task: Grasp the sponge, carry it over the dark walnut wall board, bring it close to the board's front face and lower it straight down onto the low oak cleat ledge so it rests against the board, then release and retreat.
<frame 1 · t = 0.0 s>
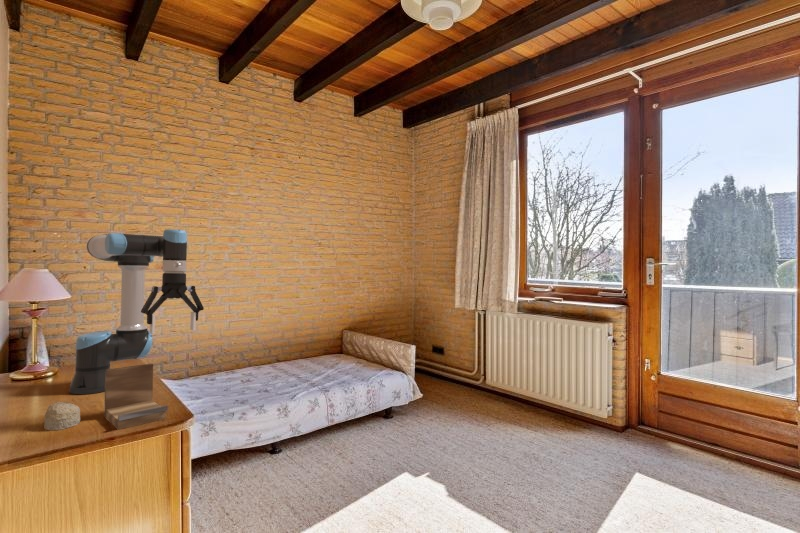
hand: (173, 331, 150), 28 cm above the table, fingers open, 13 cm apart
sponge: (62, 425, 134), on the table
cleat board: (129, 412, 146), on the table
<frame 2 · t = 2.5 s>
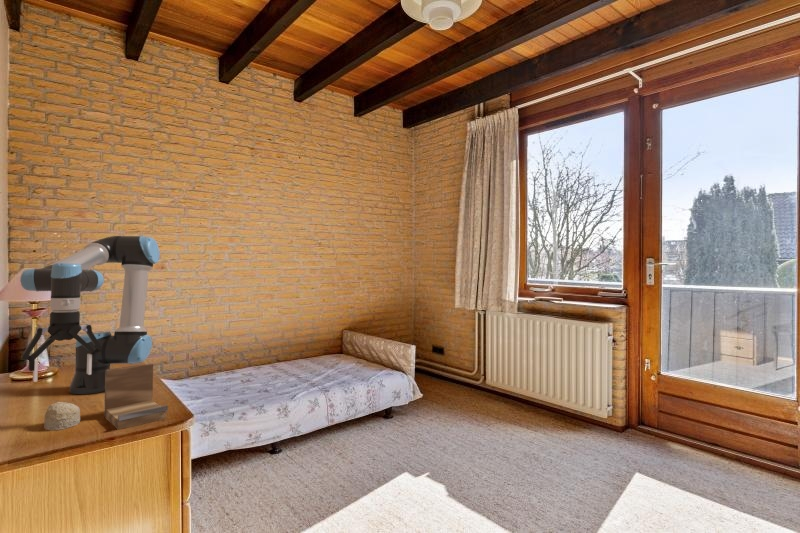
hand: (63, 377, 134), 15 cm above the table, fingers open, 13 cm apart
nothing on the table moved.
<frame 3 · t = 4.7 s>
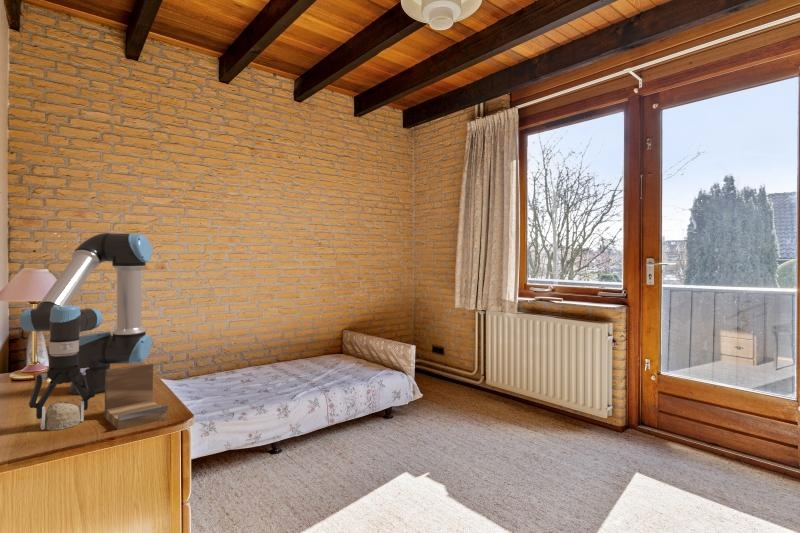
hand: (62, 424, 134), 0 cm above the table, fingers closed on sponge, 9 cm apart
sponge: (62, 425, 134), on the table, touching gripper
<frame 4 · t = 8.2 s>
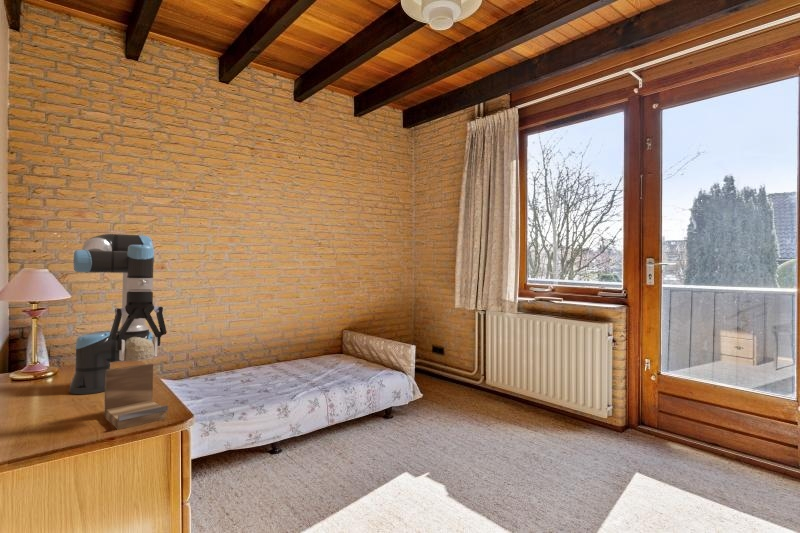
hand: (138, 357, 140), 21 cm above the table, fingers closed on sponge, 9 cm apart
sponge: (138, 359, 140), point 20 cm above the table, touching gripper
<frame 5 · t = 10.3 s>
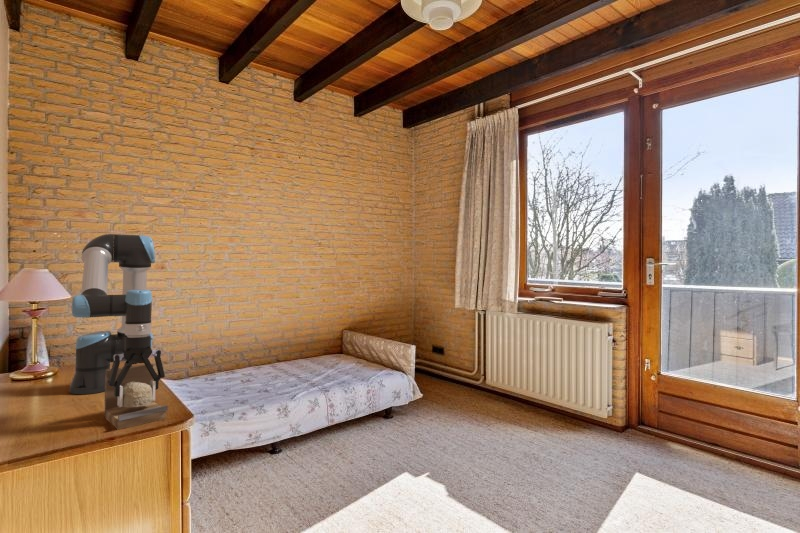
hand: (136, 402, 141), 5 cm above the table, fingers closed on sponge, 9 cm apart
sponge: (136, 403, 141), point 5 cm above the table, touching gripper
when the fingers open (3 cm above the table, at t = 11.8 s): sponge stays where it is, resting on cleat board.
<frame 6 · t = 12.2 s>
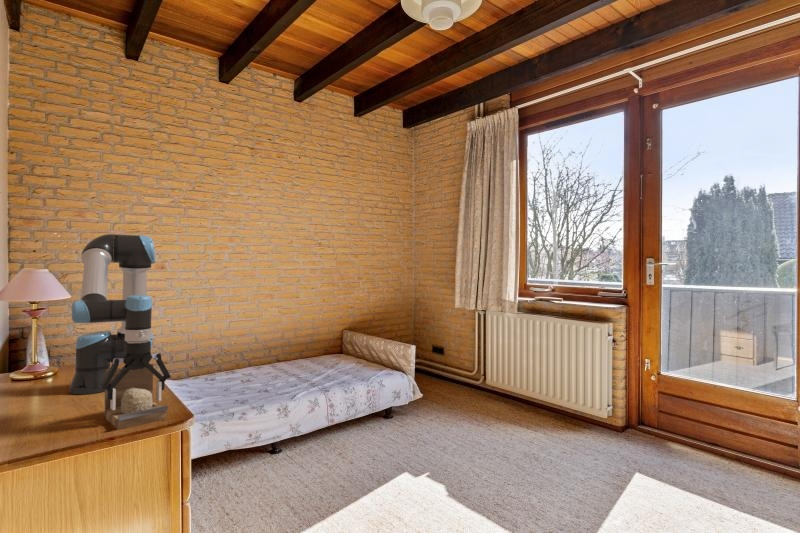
hand: (136, 404, 141), 5 cm above the table, fingers open, 13 cm apart
sponge: (136, 410, 141), point 3 cm above the table, touching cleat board
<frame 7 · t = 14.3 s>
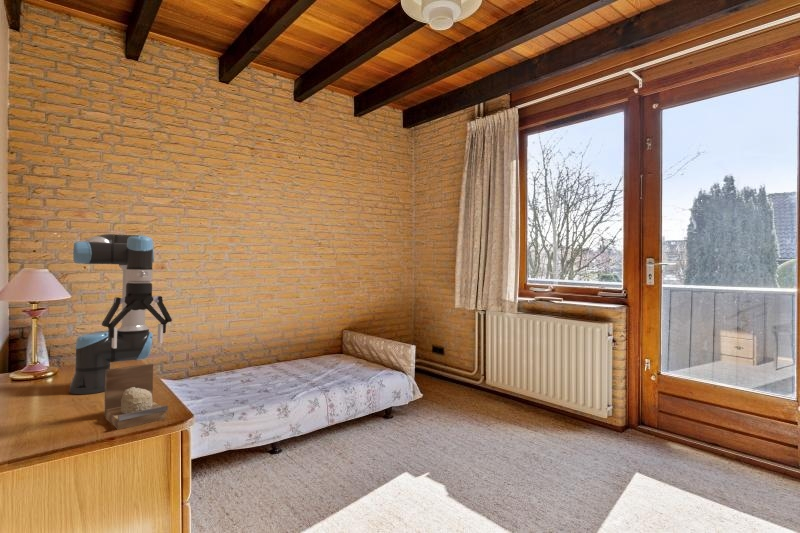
hand: (137, 345, 141), 25 cm above the table, fingers open, 13 cm apart
nothing on the table moved.
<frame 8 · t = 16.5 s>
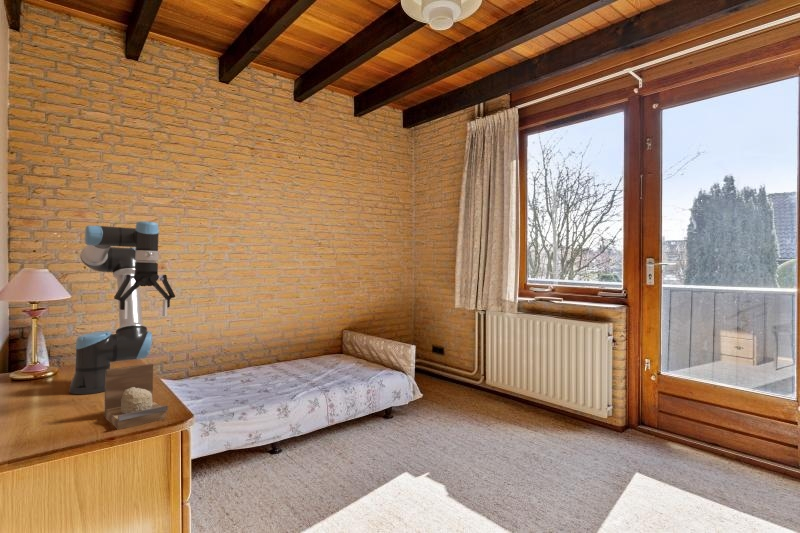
hand: (145, 317, 160), 32 cm above the table, fingers open, 13 cm apart
nothing on the table moved.
at the end: sponge inside the target area (0.4 cm from its centre), point 2.8 cm above the table; sponge touching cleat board; the gripper is holding nothing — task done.
